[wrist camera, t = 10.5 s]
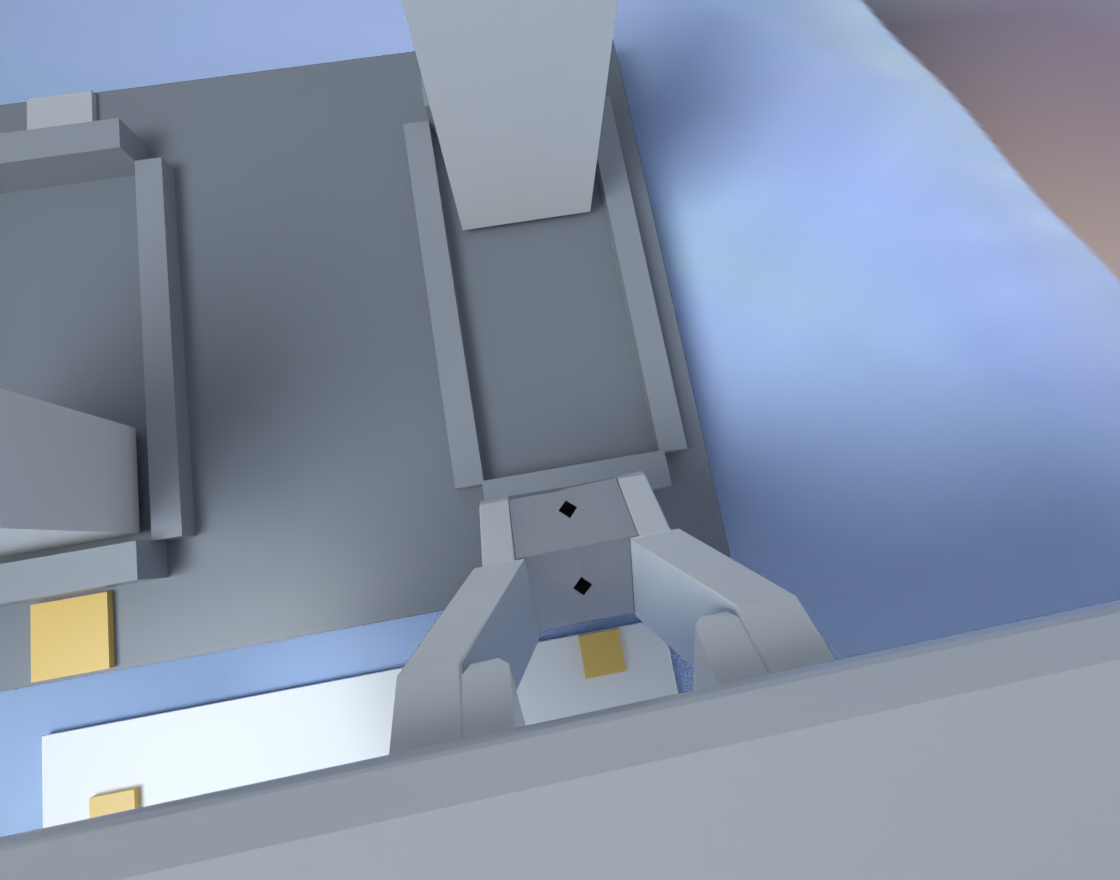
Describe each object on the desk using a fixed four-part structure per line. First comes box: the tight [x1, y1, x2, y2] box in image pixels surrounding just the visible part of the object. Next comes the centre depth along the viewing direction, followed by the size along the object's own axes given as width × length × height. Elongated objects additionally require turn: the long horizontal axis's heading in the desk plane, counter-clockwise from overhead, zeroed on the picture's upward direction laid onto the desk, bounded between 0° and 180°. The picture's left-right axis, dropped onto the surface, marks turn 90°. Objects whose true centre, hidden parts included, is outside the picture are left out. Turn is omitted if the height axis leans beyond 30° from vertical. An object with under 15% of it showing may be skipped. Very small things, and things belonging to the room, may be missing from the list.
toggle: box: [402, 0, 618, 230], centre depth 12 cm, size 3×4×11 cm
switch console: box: [0, 40, 730, 828], centre depth 17 cm, size 22×22×3 cm
